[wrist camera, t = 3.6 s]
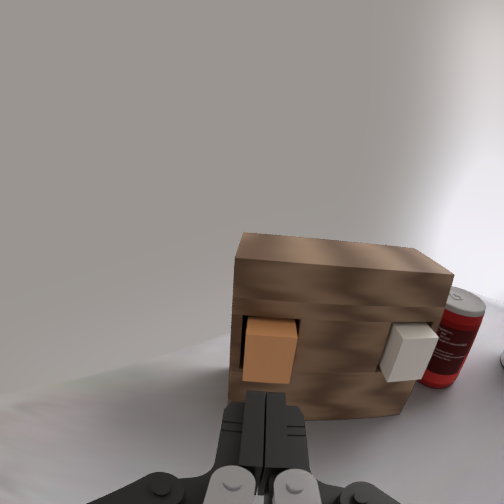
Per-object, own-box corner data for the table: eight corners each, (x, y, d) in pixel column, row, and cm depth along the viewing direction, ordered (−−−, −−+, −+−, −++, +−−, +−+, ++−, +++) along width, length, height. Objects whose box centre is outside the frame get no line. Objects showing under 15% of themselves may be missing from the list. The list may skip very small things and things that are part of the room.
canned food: (433, 351, 35) (456, 283, 32) (465, 381, 28) (497, 307, 25) (396, 360, 34) (420, 286, 31) (428, 396, 26) (463, 315, 23)
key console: (379, 370, 32) (414, 248, 27) (399, 414, 24) (454, 274, 20) (235, 366, 32) (243, 232, 28) (227, 415, 25) (234, 257, 20)
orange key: (285, 348, 26) (292, 305, 24) (289, 383, 21) (297, 337, 20) (246, 345, 26) (249, 302, 24) (242, 380, 21) (245, 334, 20)
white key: (402, 348, 25) (414, 310, 24) (421, 379, 21) (439, 337, 19) (371, 349, 25) (382, 309, 24) (387, 382, 21) (403, 339, 19)
